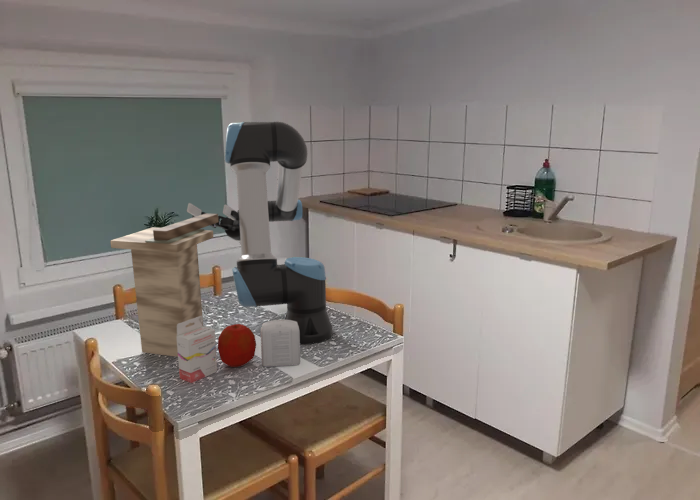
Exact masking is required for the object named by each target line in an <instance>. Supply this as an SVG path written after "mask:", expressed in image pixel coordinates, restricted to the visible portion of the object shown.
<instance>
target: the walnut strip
mask: <svg viewBox="0 0 700 500" xmlns="http://www.w3.org/2000/svg"><path fill="white" fill-rule="evenodd" d="M205 213H206V214H203V215H200V216H197V217H193V218H192V217H191V218H187V219H183V220H181V221H177V222H175V223H171V224H169V225H166V226H163V227H158V228H159V229H156V230H153V235H154V240H166V241H167V240H170V239H173V238H176V237H179V236H181V235H184V234H187V233H190V232H192V231H195V230H198V229H204V228H206V227H208V226H209V225H212V224H215V223H218V222H219V221H218V216H219V213H208V212H205ZM209 227H210V226H209Z"/></svg>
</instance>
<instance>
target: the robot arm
mask: <svg viewBox="0 0 700 500" xmlns="http://www.w3.org/2000/svg"><path fill="white" fill-rule="evenodd" d="M307 159H308V147H307V144H306V141H305V139H304V137H303V136H302V135H301V134H300V132H299V131H298V130H297V129H296V128H295V127H293V126H292V125H290V124H288V123H285V122H282V121H241V122H231V123H229V125H228V126H227V129H226V137H225V155H224V161H225V163H226V164H229V165H230V170H231V171H232V172H233V173H234V174H235V175H236V176H235V177H236V189H237V192H236V193H237V205H238V206H237V207H238V210H237V211H236V210H235V209H233V208H232V207H231V206H230V205H228V204H224V205H223V209H222V214H223V215H225V216H222V215H218V221H219V222H218V223H215V224H212V225H209V227H211V228H213V229H216V228H220V229H222V230H224V232H225V235H226V236H228V238H231V239H232V240H234V241H236V242H237V243H239V245H240V247H241V249H240V253H241V255H240V256H239V257H238V259H237V260H236V266H234V267H233V268H232V269H231V271H232V276H233V281H234V286H235V287H234V288H235V291H236V297H237V300H238V301H237V302H238V303H239V304H238V305H240V306H241V307H244V308H251V307H254V308H257V307H266V306H278V305H280V306H281V305H286V313H285V317H284V320H292V321H296V322H297V324H298V326H299V331H300V345H309V344H310V345H311V344H312V345H313V344H318V343H321V342H325V341H327V340H328V339H330V338H331V337H332V336H333V325H332V322H331V320H330V317H329V313H328V311H327V295H326V294H327V291H326V287H327V286H326V285H327V284H326V280H327V276H326V269H325V268H326V267H325V264H323V263H322V261H319V260H317V259H314V258H311V257H310V258H309V257H301V256H298V257H297V256H294V257H288V258H286V259H285V261H284V263H283V264H278V258H277V257H276V256H275V255H274V254H273V253H272V248H271V247H272V245H271V231H270V229H271V228H270V222H272V223H273V222H293V221H300V220H301V219H303V203H302V201H301V200H300V199H299V195H300V189H301V188H300V187H301V181H302V174H303V167H304V166H305V165H306V163H307V161H308V160H307ZM271 162H272V163H273V162H275V163H276V162H277V164H278V171H277V182H276V183H277V186H276V197H275V198H276V200H268V190H267V175H266V174H267V172H268V171H269V170H270V168H271ZM186 208H187V209H186V212H187V213H188V214H190V215H191V216H192V217H191V218H193V217H197V216H200V215H203V214H206V213H207V212H204V211H203V210H202V209H201V208H199V207H197V206H196V205H194V204H193V203H191V202H188V204H187V207H186Z"/></svg>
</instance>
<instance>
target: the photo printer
mask: <svg viewBox="0 0 700 500" xmlns="http://www.w3.org/2000/svg"><path fill="white" fill-rule="evenodd" d="M260 352H261V354H260V355H261V366H262V367H282V366H283V367H284V366H289V367H290V366H297V365H298V366H299V365H300V363H301V344H300V331H299V326H298V324H297V322H296V321H292V320H285V319H272V320H269V321H265V322H263V323H262V326H261V328H260Z"/></svg>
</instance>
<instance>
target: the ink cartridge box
mask: <svg viewBox="0 0 700 500" xmlns="http://www.w3.org/2000/svg"><path fill="white" fill-rule="evenodd" d="M203 317H204V316H203ZM203 317H202V316H199V317H196V318H193V319H190V320H187V321H185V322H182V323H179V324H177V336H176V337H177V350H178V357H177V360H178V361H177V362H178V370H179V371H178V372H179V379H180V380H183V381H185V382H188V383H190V384H193V383H195V382H198V381H200V380H202V379H204V378H206V377H208V376H211V375H212V374H215V373H217V372H218V363H217V345H216V332H215V331H216V330H215V329H214V328H210V327H208V326H204V318H203ZM202 320H203V321H202ZM189 323H194V325H192V326H189V327H185V326H186V325H188V324H189Z"/></svg>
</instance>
